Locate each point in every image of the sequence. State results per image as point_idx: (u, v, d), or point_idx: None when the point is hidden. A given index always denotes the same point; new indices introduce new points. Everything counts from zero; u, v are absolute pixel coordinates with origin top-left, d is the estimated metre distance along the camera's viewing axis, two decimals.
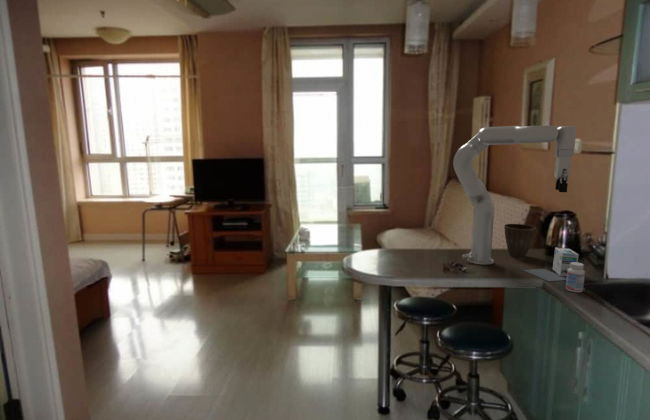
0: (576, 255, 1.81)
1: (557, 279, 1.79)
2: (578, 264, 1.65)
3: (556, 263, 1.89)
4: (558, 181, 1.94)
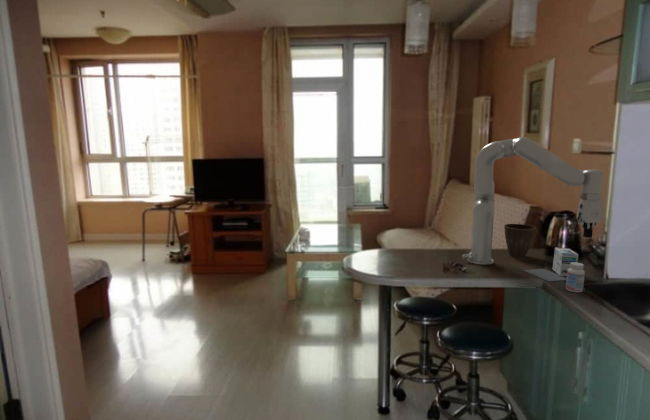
0: (576, 255, 1.81)
1: (557, 279, 1.79)
2: (578, 264, 1.65)
3: (556, 263, 1.89)
4: None
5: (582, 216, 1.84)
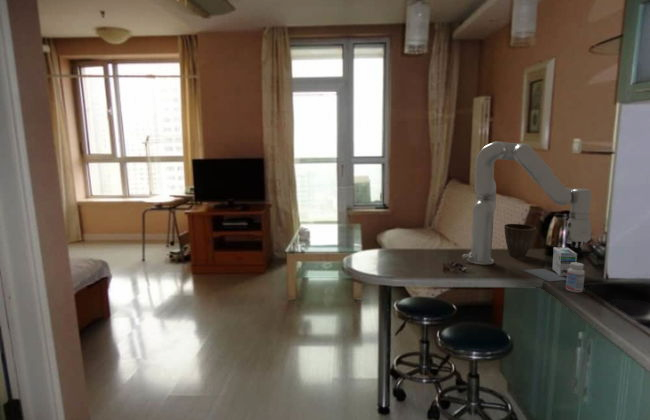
0: (574, 254, 1.81)
1: (557, 279, 1.79)
2: (578, 264, 1.65)
3: (555, 263, 1.89)
4: None
5: (570, 235, 1.84)
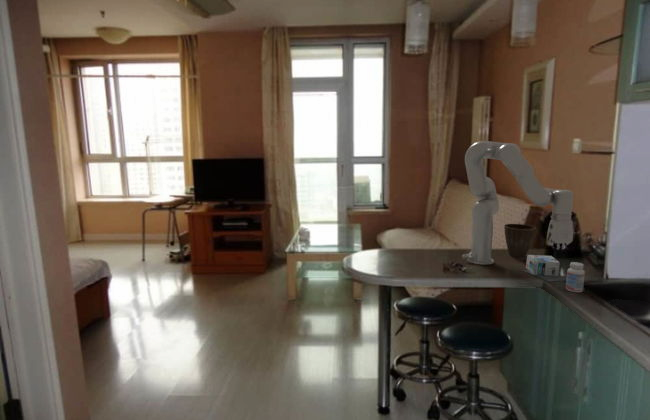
0: (535, 263, 1.84)
1: (557, 279, 1.79)
2: (578, 264, 1.65)
3: None
4: None
5: (552, 237, 1.82)
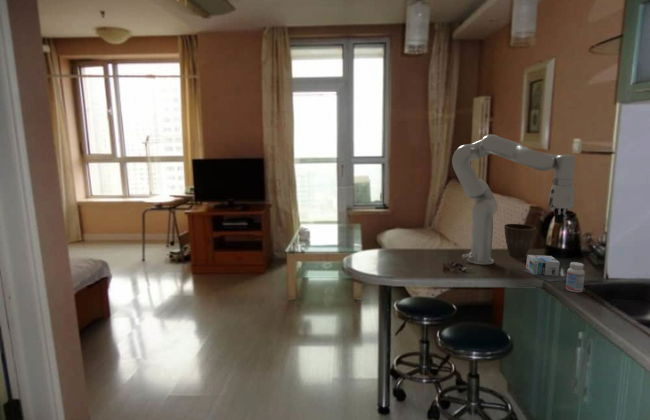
0: (535, 262, 1.85)
1: (557, 279, 1.79)
2: (578, 264, 1.65)
3: None
4: None
5: (553, 201, 1.82)
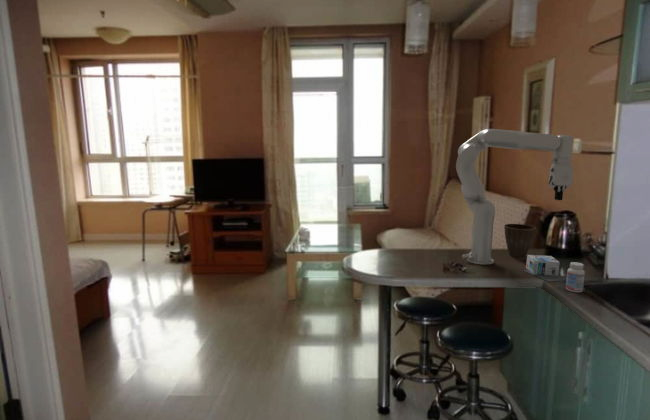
0: (535, 262, 1.85)
1: (557, 279, 1.79)
2: (578, 264, 1.65)
3: None
4: None
5: (553, 179, 1.94)
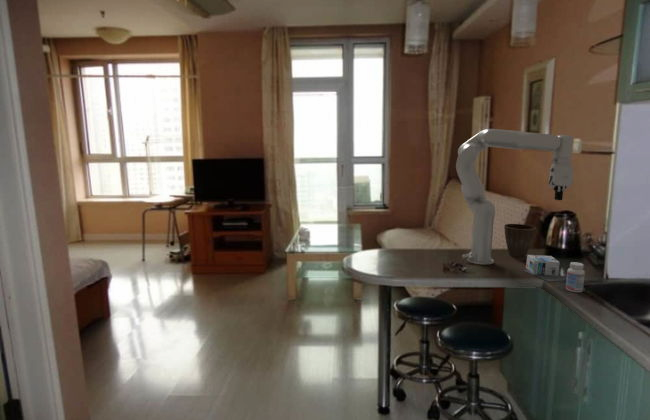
0: (535, 262, 1.85)
1: (557, 279, 1.79)
2: (578, 264, 1.65)
3: None
4: None
5: (553, 179, 1.94)
